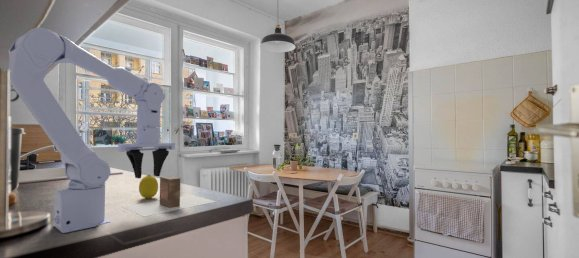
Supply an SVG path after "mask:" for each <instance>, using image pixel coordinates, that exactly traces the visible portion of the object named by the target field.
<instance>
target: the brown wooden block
mask: <svg viewBox="0 0 579 258" xmlns="http://www.w3.org/2000/svg"><path fill="white" fill-rule="evenodd" d="M180 197H181V178H180V177H176V176H172V175H165V176H159V200H160V205H163V206H166V207H168V208H173V207H178V206H180Z"/></svg>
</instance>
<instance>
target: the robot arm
mask: <svg viewBox="0 0 579 258" xmlns="http://www.w3.org/2000/svg"><path fill="white" fill-rule="evenodd" d="M8 57H9V59H8V70H9V69H10V70H11V72H10V79H11V84H10V85H11V87H12V88H13V89H14V91H15V92H16V94H17V95H18V96H19V98H20V100H21V101H22V102H23V104H24V105H25V107H26V108H27V109H28V111H29V112H30V113H31V115H32V117H34V119H35V120H36V121H37V123H38V124H39V126H40V127H41V128H42V130H43V131H44V133H45V135H46V136H47V137H48V139H49V140H50V141H51V143H52V144H53V146H54V147H55V148H56V150H57V152H58V153H59V154H60V155H59V156H60V161H61V163H62V164H63V167H64V173H65V176H66V178H67V179H68V180H69V183H68V187H67V188H63V189H58V190H56V191H55V194H54V209H53V211H54V216H53V218H54V221H53V227H55V228H56V229H57V230H58V231H59V232H61V233H62V234H66V233H71V232H76V231H81V230H86V229H89V228H95V227H99V225H104V224H110V223H112V221H111V220H109V219H108V218H106V217H105V215H106V182H107V181H108V179H109V177H110V175H111V168H110V166H109V163H108V162H107V161H105V160H104V159H101V157H99V156H98V155H97V154H96V152H95V151H94V150H93V149H91V148H90V147H89V146H88V145H87V144H86V143H85V141H84V140H83V138H82V137H81V136H80V133H79V132H78V131H77V129H76V127H75V126H74V125H73V123H72V122H71V120H70V119H69V117H68V115H67V114H66V112H65V111H64V110H63V108H62V106H61V105H60V103H59V102H58V100H57V99H56V97H55V96H54V95H53V93H52V91H51V90H50V88H49V87H48V85H47V84H46V82H45V77H46V75H47V74H48V73H47V72H48V70H49V68H50V66H51V65H52V64H73V65H75V66H77V67H79V68H82V69H83V70H85V71H87V72H90V73H93V74H95V75H97V76H99V77H101V78H103V79H105V80H106V81H107V83H108V85H109V87H110V88H112V89H115V90H116V91H118V92H119V93H122V94H124V95H127V96H128V97H131V98H133V99H134V101H135V103H137V106H136V108H137V109H136V142H132V143H118V144H117V151H118V152H125V153H126V156H127V158H128V160H129V162H130V164H131V166H132V169H133V173H134V178H136V179H142V176H143V175H142V172H143V171H142V164H143V160H144V159H143V157H144V152H143V151H152V153H151V154H152V159H153V160H152V161H153V177H154V176H155V177H161V171H162V169H163V166H164V163H165V160H166V159H167V157H168V156H169V153H170V151H169V150H171V151H172V150H176V145H175V144H176V143H175V142H160V141H161V140H160V139H161V138H160V137H161V109H162V103H163V102H164V101H165V99H166V94H165V93H164V90H163V88H162V87H161V85H159V84H158V83H156V82H149V81H148V78H146V77H141V76H140V75H137V74H136V73H134V72H132V69H131V68H130V67H123V66H118V67H114V66H112V65H110V64H109V63H106V62H105V61H103V60H101V59H100V57H99V58H98V57H97V56H95V55H94V54H92V53H91V52H89V51H87V50H85V49H84V48H82V47H81V46H79V45H77V44H76V43H74V42H73V41H72V40H70V39H69V38H68V37H65V36H64V35H58V33H56V32H55V31H53V30H52V29H48V28H45V27H35V28H32V29H31V28H30V30H28V31H27V32H26V33H24V34H23V35H21V36H18V37H17V38H16V39H15V40H14V42H13V43H12V45H11V46H10V48H9V49H8ZM141 151H142V152H141Z"/></svg>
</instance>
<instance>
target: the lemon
mask: <svg viewBox="0 0 579 258" xmlns="http://www.w3.org/2000/svg"><path fill="white" fill-rule="evenodd" d="M158 190H159V181H158V180H157V178H156V176H155V177H154V175H151V174H147V175H146V176H144V177H142V178H141V180H140V182H139V185H138V192H139V194H140V196H141V197H143V198H145V199H146V200H151V199H152V198H154V197H155V196H156V195H157V193H158Z"/></svg>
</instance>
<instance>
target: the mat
mask: <svg viewBox="0 0 579 258" xmlns="http://www.w3.org/2000/svg"><path fill="white" fill-rule="evenodd" d="M212 203H217V201H215V200H212V199H208V198H204V197H201V196H198V195H194V194H187V195H182V196H181V195H180V206H178V207H173V208H168V207H166V206H163V205H160V199H158V200H153V201H147V202H141V203H135V204H129V205H123V206H121V207H122V208H123V209H126V210H128V211H129V212H133V213H135V214H136V215H139V216H141V217H149V216H155V215H158V214H165V213H168V212H169V213H170V212H173V211H178V210H185V209H187V208H188V209H189V208H193V207H198V206H202V205H208V204H212Z"/></svg>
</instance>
